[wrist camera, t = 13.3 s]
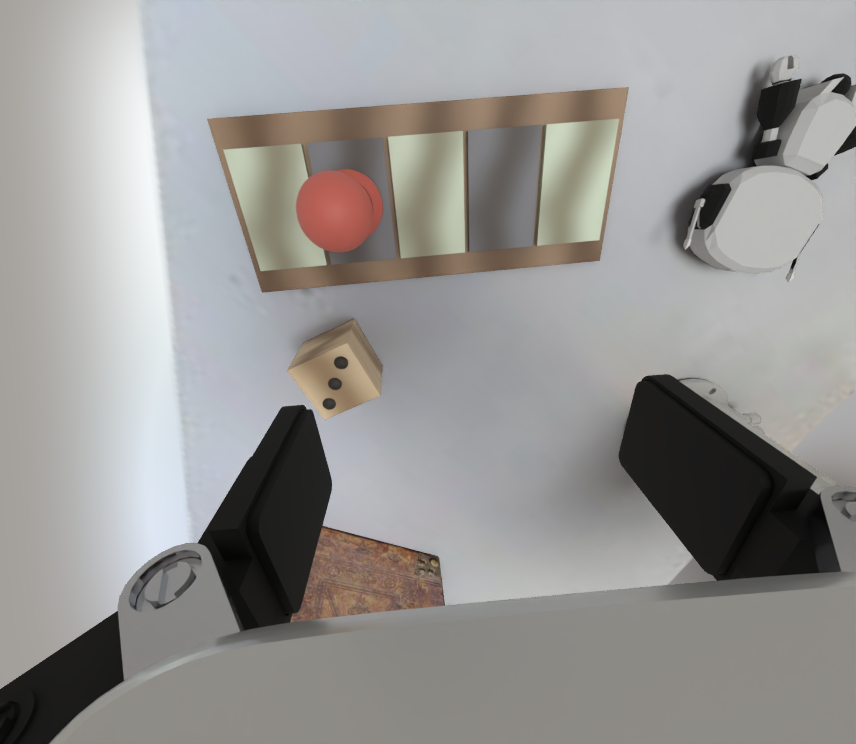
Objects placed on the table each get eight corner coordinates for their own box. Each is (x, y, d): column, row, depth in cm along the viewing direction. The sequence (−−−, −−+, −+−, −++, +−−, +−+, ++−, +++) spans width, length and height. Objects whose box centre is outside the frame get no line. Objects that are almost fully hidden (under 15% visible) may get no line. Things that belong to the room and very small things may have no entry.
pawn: (378, 167, 27) (368, 157, 17) (386, 235, 29) (382, 260, 20) (314, 172, 27) (268, 165, 17) (328, 240, 29) (294, 268, 19)
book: (261, 553, 50) (117, 951, 24) (281, 514, 47) (135, 933, 21) (413, 587, 58) (427, 919, 32) (439, 556, 54) (480, 901, 28)
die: (354, 318, 34) (346, 343, 29) (382, 365, 37) (380, 396, 32) (303, 342, 35) (286, 371, 30) (334, 387, 38) (324, 420, 32)
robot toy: (743, 60, 27) (650, 250, 33) (805, 33, 23) (687, 255, 29) (852, 111, 30) (748, 280, 36) (925, 95, 26) (794, 289, 31)
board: (622, 89, 27) (633, 85, 26) (595, 259, 33) (602, 261, 32) (212, 120, 26) (203, 117, 24) (265, 290, 32) (259, 294, 31)
